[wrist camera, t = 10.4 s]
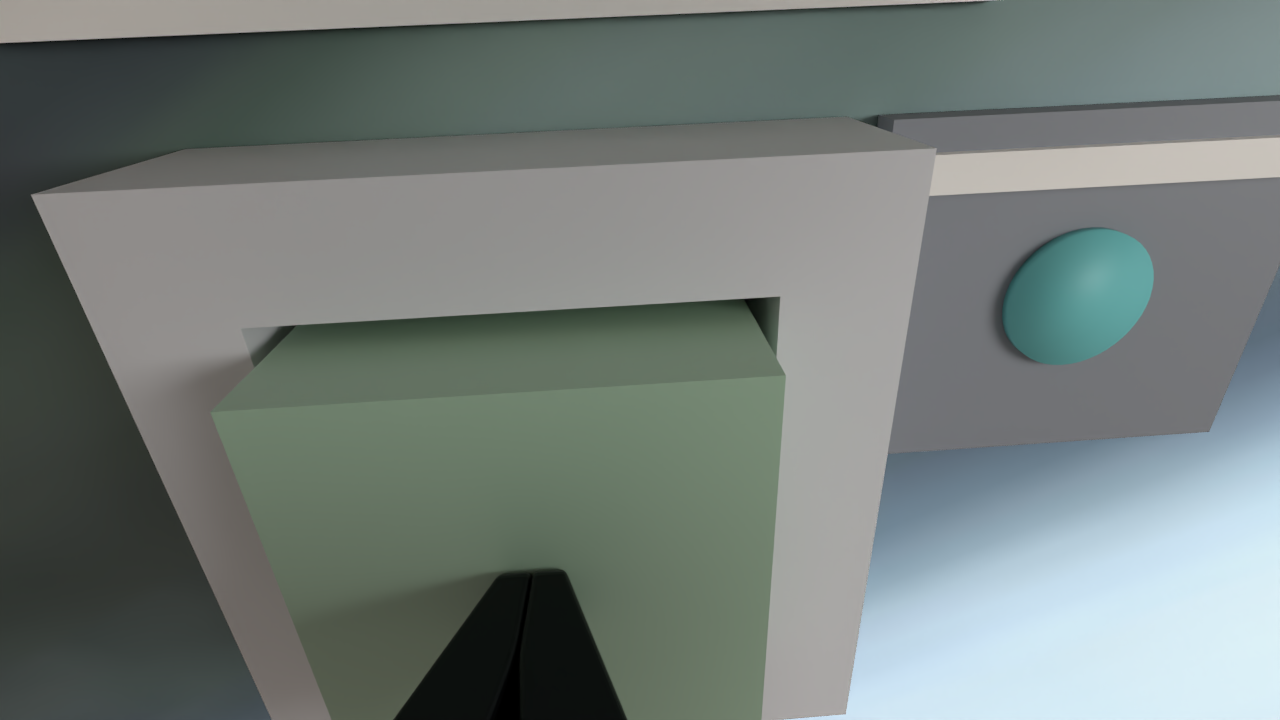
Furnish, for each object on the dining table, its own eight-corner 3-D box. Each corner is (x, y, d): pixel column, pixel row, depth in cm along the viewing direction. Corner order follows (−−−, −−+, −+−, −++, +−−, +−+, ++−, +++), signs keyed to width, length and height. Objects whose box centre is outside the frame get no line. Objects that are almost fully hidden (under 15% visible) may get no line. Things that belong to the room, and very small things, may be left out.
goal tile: (1311, 93, 10) (1364, 98, 10) (1183, 415, 13) (1218, 437, 12) (878, 114, 10) (900, 121, 9) (839, 438, 13) (854, 462, 12)
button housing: (846, 116, 10) (936, 147, 7) (800, 588, 15) (845, 714, 12) (185, 148, 10) (31, 194, 7) (347, 623, 14) (290, 760, 12)
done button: (721, 258, 11) (785, 375, 7) (716, 542, 13) (760, 731, 10) (342, 279, 10) (210, 412, 7) (417, 564, 13) (349, 766, 9)
